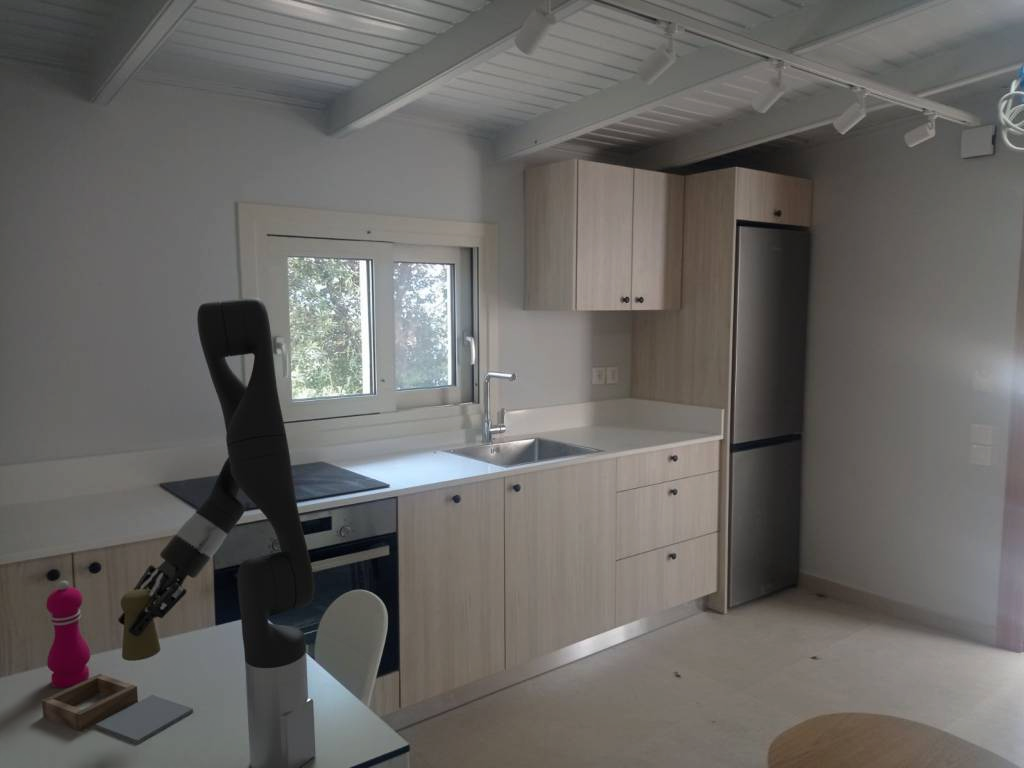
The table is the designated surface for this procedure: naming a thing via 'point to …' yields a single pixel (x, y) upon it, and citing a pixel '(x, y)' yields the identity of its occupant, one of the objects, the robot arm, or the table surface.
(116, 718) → the rubber mat
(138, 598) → the cork
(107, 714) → the walnut collar
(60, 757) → the table surface
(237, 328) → the robot arm
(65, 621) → the pepper mill
